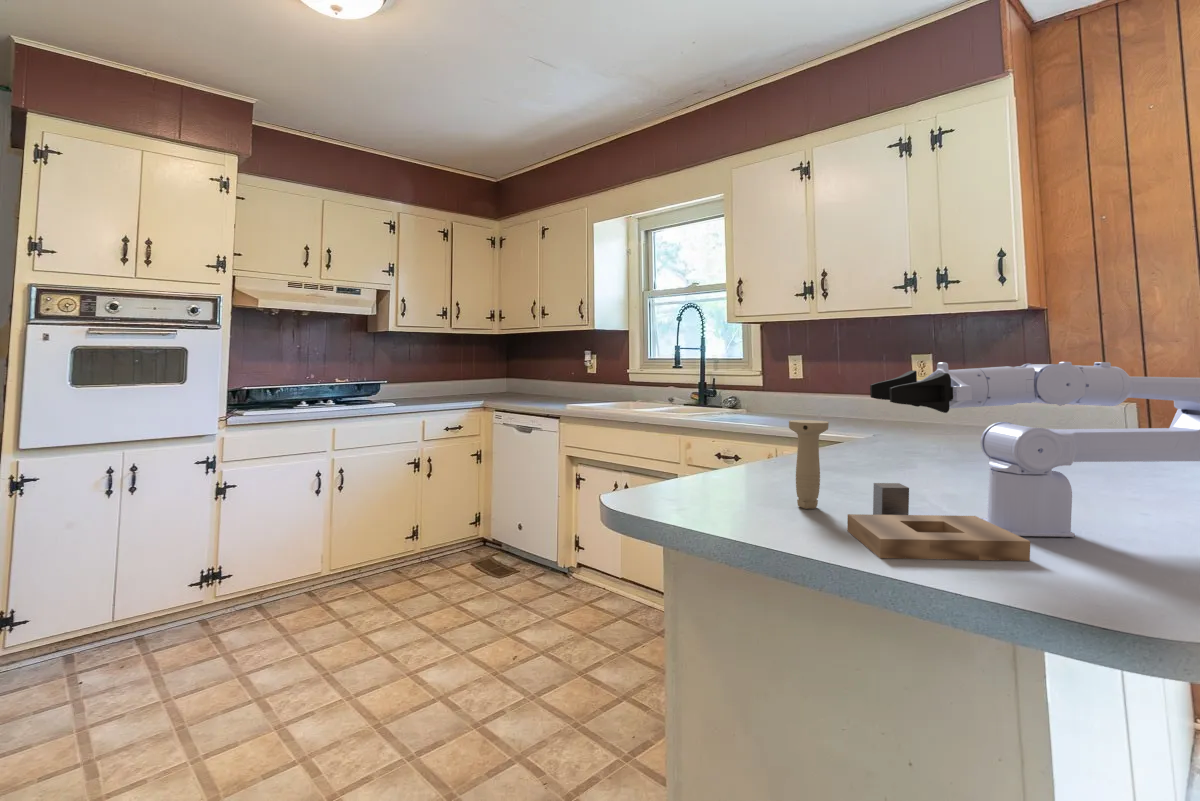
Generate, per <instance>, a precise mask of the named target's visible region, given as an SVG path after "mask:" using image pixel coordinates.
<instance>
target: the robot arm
mask: <svg viewBox="0 0 1200 801" xmlns="http://www.w3.org/2000/svg"><path fill="white" fill-rule="evenodd" d="M917 375H918V374H917V370H909V371H906V372H904V373H903V374H901V375H899V376H897V377H894V378H890V379H887V380H883V381H878V382H875V383H871V384H870V386H869V390H870V393H869V394H870V398H872V399H877V400H882V401H883V400H885V401H889V402H890V403H893V404H898V405H907V406H908V405H909V406H913V407H924V408H929V409H933V410H935V411H937V412H941V413H944V414H947V413H948V412H949V411H950V410H951V409H965V408H982V407H1000V406H1001V407H1002V406H1003V407H1004V406H1014V405H1017V404H1031V403H1036V404H1047V405H1056V406H1059V407H1061V406H1062V407H1063V406H1065V405H1072V406H1073V405H1074V406H1075V405H1076V406H1077V405H1078V406H1096V407H1097V406H1099V407H1115V406H1116V407H1117V406H1118V405H1120V404H1122V403H1124V402H1125V401H1127V399H1130V398H1131V399H1147V400H1160V401H1161V400H1162V401H1173V407H1174V408H1175V409H1177V410H1176V413H1175V414H1174V417H1173V419H1172V422H1171V423H1170V425H1169V427H1168V428H1167V427H1160V428H1159V427H1156V428H1154V427H1153V428H1151V427H1148V428H1145V427H1144V428H1139V427H1137V428H1069V429H1067V428H1061V429H1059V428H1056V429H1055V428H1044V427H1031V426H1025V425H1020V424H1014V423H1011V422H1007V421H999V422H994V423H992V424H990V425H989V426H987V427H986V428H985V429H984V431H983V432H982V434H981V437H980V449H981V451H982V452H983V454H984V455H985V456H986V457H987V458H988V488H987V489H988V490H987V491H988V492H987V493H988V494H987V495H988V496H987V517H980V518H981V519H983V520H985V521H987V522H990V523H992V524H994V525H996V526H998V527H1000V528H1003V529H1005V530H1007V531H1009V532H1011V533H1013V534H1016V535H1018V536H1020V537H1063V538H1064V537H1065V538H1066V537H1067V538H1068V537H1070V538H1071V537H1075V536H1076V535H1075V533H1074V532H1072V508H1073V489H1072V486H1071V483H1070V481H1069V478H1068V477H1067V476H1066V475H1065V474H1063V473H1062V472H1061V471H1056V470H1053V469H1054V468H1057V467H1063V466H1069V467H1070V466H1072V465H1073V463H1102V462H1103V463H1107V462H1108V463H1114V462H1116V463H1117V462H1121V463H1126V462H1128V463H1131V462H1132V463H1135V462H1137V463H1138V462H1139V463H1140V462H1142V463H1143V462H1145V463H1147V462H1148V463H1149V462H1152V463H1153V462H1155V463H1157V462H1200V377H1189V376H1188V377H1180V376H1179V377H1177V376H1176V377H1173V376H1130V375H1129V373H1128V372H1126V371H1125V369H1123V368H1121V367H1118V366H1112V363H1111V362H1109V361H1106V362H1105V361H1101V362H1100V361H1095V362H1094V363H1093V365H1079V364H1077V365H1075V364H1072V361H1059V362H1058V363H1057V364H1056V363H1050V364H1049V363H1048V364H1047V363H1046V364H1045V363H1042V364H1041V363H1039V364H1038V363H1037V364H1035V363H1034V364H1033V363H1024V364H1022V365H1020V366H1018V365H1017V366H991V367H978V368H977V367H976V368H975V367H974V368H962V369H961V368H959V369H949V363H947V362H937V363H936V370H935V371H933V372H932V373H930V374H929V375H928V376H926V377H924V378H923V379H920V380H919V379H918V380H917Z"/></svg>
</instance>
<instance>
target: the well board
mask: <svg viewBox="0 0 1200 801" xmlns="http://www.w3.org/2000/svg"><path fill="white" fill-rule="evenodd" d="M981 518H982V517H979V516H976V515H946V514H945V515H940V514H939V515H937V514H936V515H933V514H931V515H929V514H928V515H927V514H923V515H922V514H908V515H873V514H865V513H864V514H847V523H846V524H847V525H846V527H847V528H846V529H847V532H848V533H849V534H851V535H852V536H853V537H854V538H855V539H856V540H858V541H859V542H860V543H861V544H862V545H864V546H865V547H866V548H867V549H868V550H870V551H871V552H872V553H873V554H874V555H876V557H878V558H880V559H899V560H900V559H902V560H903V559H905V560H906V559H907V560H908V559H909V560H911V559H912V560H954V561H955V560H959V561H961V560H962V561H963V560H964V561H965V560H967V561H972V560H973V561H1006V562H1007V561H1009V562H1010V561H1014V562H1018V561H1019V562H1029V561H1031V541H1030V540H1028V539H1026V538H1024V537H1023V536H1018V535H1016V534H1013V533H1011V532H1009V531H1007V530H1005V529H1003V528H1000V527H998V526H996V525H994V524H992V523H990V522H987V521H985V520H983V519H981Z"/></svg>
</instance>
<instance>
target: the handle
mask: <svg viewBox="0 0 1200 801" xmlns="http://www.w3.org/2000/svg"><path fill="white" fill-rule="evenodd" d="M829 423H830V422H829V421H825V420H815V419H813V420H812V419H810V420H809V419H793V420H792V419H791V420H788V428H789V429H790V431H792V432H794V433H796V434H797V453H796V467H795V491H796V495H797V496H796V497H797V498H798V499H797V500H796V501H797V502H796V503H797V507H799V508H802V509H805V510H808V509H809V510H810V509H811V510H812V509H813V510H814V509H817V507H818V504H819V500H818V499H819V495H820V494H819V493H820V489H821V488H820V487H821V467H820V466H821V465H820V449H819V448H820V444H819V443H820V441H819V440H820V435H821V434H823V433H825V432H826V431H828V429H829Z"/></svg>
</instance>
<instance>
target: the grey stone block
mask: <svg viewBox="0 0 1200 801" xmlns="http://www.w3.org/2000/svg"><path fill="white" fill-rule="evenodd" d="M872 491H873V494H872V495H873V496H872V497H873V498H872V499H873V501H872V515H910V514H909V510H910V509H909V508H910V507H909V505H910V487H908V486H906V485H905V484H903V483H900V482H874V483H873V490H872Z"/></svg>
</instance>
